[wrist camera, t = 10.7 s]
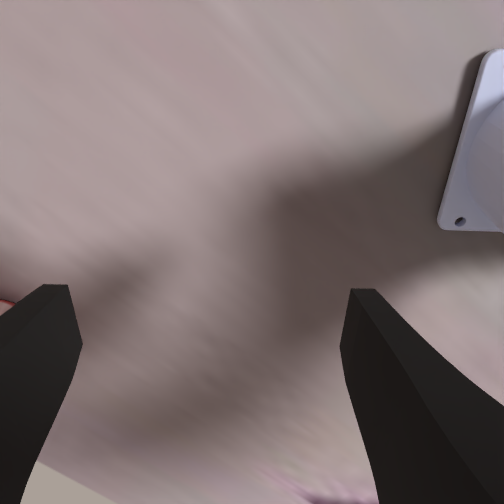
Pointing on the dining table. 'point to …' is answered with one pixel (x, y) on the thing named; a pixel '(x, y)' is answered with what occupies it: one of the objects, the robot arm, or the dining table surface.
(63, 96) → the dining table surface
